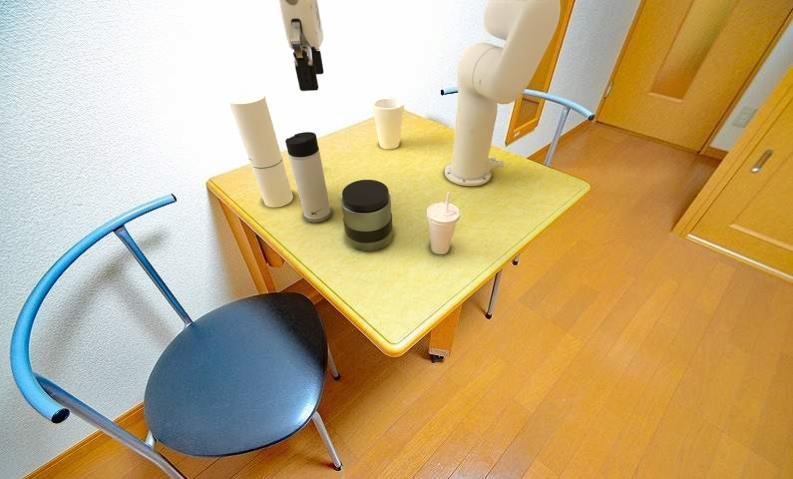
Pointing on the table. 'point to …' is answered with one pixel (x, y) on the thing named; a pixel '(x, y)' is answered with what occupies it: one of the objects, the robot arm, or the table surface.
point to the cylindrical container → (261, 147)
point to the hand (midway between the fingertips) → (312, 81)
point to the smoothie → (442, 224)
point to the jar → (367, 215)
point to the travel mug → (309, 176)
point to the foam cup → (388, 121)
